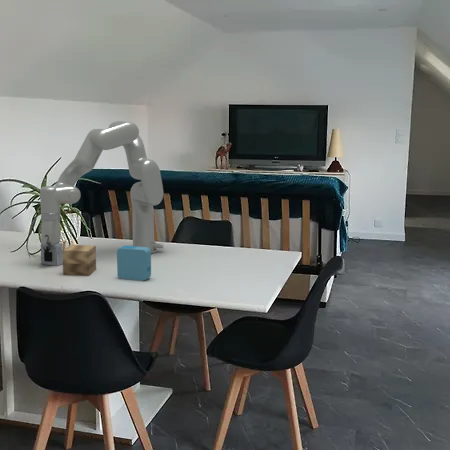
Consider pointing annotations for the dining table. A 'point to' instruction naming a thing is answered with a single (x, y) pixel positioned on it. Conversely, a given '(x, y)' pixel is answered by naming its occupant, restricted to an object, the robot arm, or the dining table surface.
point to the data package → (134, 262)
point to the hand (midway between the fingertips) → (52, 258)
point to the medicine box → (54, 255)
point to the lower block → (79, 269)
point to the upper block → (79, 254)
